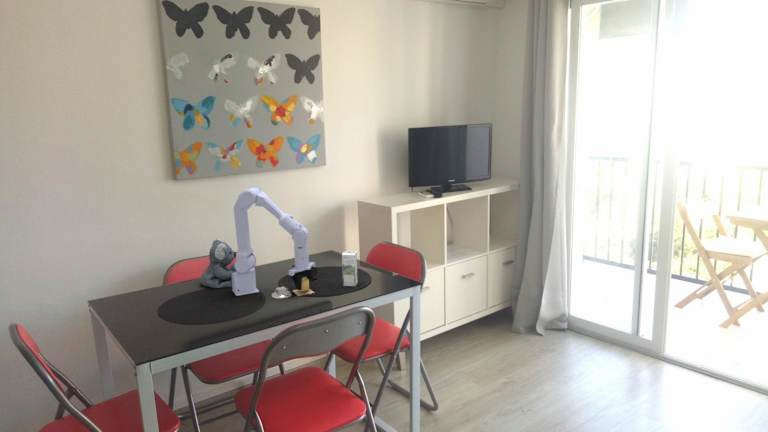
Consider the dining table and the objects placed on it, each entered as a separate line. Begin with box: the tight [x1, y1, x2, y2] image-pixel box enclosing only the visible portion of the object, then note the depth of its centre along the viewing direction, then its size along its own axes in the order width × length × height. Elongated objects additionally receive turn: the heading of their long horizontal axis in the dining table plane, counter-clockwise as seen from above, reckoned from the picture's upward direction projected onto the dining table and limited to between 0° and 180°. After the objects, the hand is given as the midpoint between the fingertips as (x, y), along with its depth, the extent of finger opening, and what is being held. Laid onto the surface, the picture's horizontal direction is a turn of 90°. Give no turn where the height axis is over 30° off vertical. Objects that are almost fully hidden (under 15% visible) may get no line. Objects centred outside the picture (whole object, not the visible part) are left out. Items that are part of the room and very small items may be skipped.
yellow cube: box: [299, 277, 310, 291], centre depth 225 cm, size 5×5×5 cm
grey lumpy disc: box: [271, 286, 293, 300], centre depth 222 cm, size 8×8×3 cm
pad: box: [292, 288, 315, 297], centre depth 226 cm, size 7×7×1 cm
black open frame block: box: [291, 264, 319, 281], centre depth 243 cm, size 10×7×7 cm
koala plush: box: [200, 238, 237, 289], centre depth 237 cm, size 17×18×20 cm
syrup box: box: [341, 250, 358, 288], centre depth 233 cm, size 6×6×14 cm
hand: (303, 287), depth 225 cm, fingers closed on yellow cube, 5 cm apart
